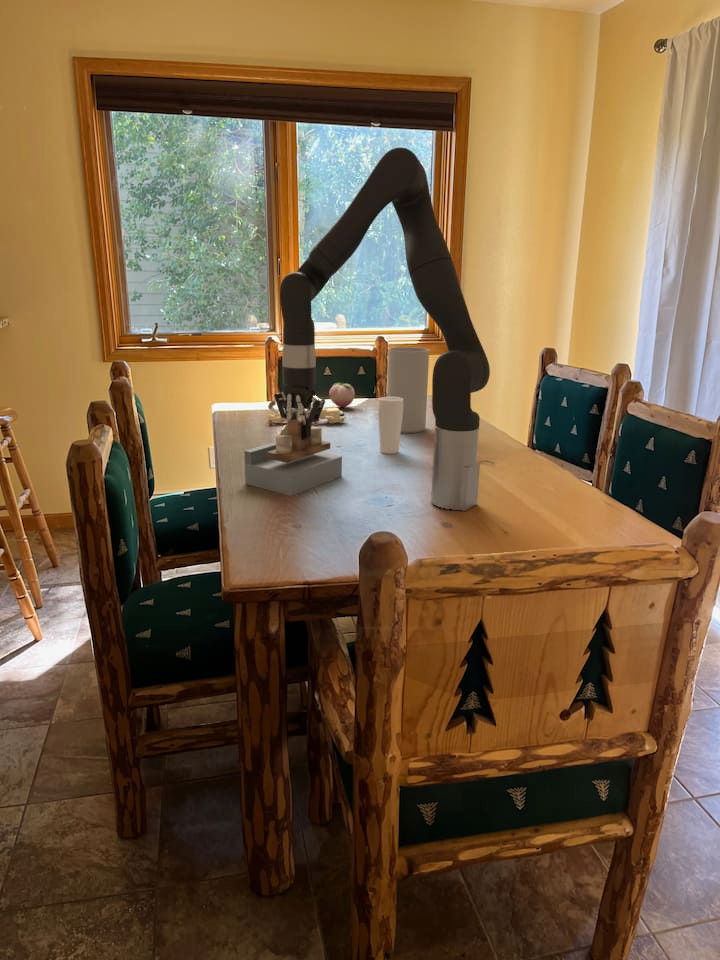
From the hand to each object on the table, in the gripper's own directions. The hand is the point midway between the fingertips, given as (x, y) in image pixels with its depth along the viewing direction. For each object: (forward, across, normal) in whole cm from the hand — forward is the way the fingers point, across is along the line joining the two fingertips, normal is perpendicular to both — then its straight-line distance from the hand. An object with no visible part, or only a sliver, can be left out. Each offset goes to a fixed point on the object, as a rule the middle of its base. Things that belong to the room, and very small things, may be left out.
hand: (299, 438), depth 160 cm
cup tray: (+4, 0, 0) cm, 4 cm away
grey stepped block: (+11, +1, 0) cm, 11 cm away
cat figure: (+11, +38, -50) cm, 63 cm away
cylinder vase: (+11, +9, -63) cm, 64 cm away
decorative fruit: (+11, +44, -77) cm, 89 cm away
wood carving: (+11, +22, -24) cm, 34 cm away
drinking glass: (+11, -2, -36) cm, 37 cm away
